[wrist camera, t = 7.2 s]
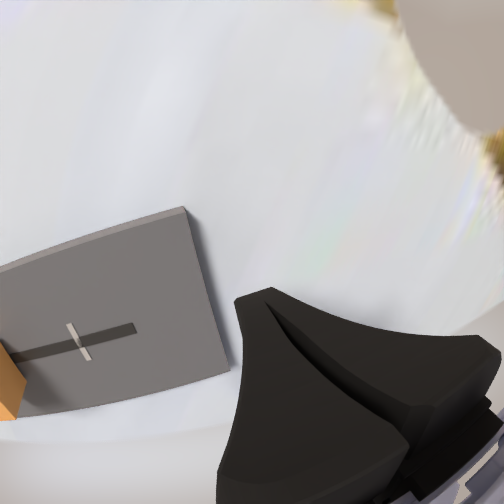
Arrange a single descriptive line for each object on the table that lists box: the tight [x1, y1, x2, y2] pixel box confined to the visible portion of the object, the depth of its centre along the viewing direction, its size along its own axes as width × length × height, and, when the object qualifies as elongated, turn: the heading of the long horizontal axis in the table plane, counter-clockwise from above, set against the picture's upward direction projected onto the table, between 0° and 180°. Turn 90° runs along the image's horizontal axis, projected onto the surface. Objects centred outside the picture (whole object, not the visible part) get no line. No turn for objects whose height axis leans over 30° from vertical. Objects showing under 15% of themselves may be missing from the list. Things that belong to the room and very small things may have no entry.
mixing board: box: [0, 206, 231, 418], centre depth 16 cm, size 12×24×2 cm, turn 100°
